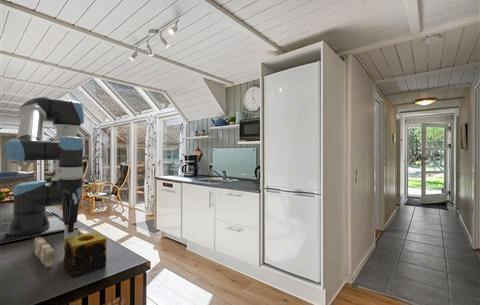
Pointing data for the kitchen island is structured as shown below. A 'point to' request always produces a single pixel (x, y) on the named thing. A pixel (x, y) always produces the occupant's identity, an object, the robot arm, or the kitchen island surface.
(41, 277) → the kitchen island surface
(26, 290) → the kitchen island surface
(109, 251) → the kitchen island surface
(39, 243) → the rail
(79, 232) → the rail
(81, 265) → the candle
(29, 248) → the kitchen island surface
